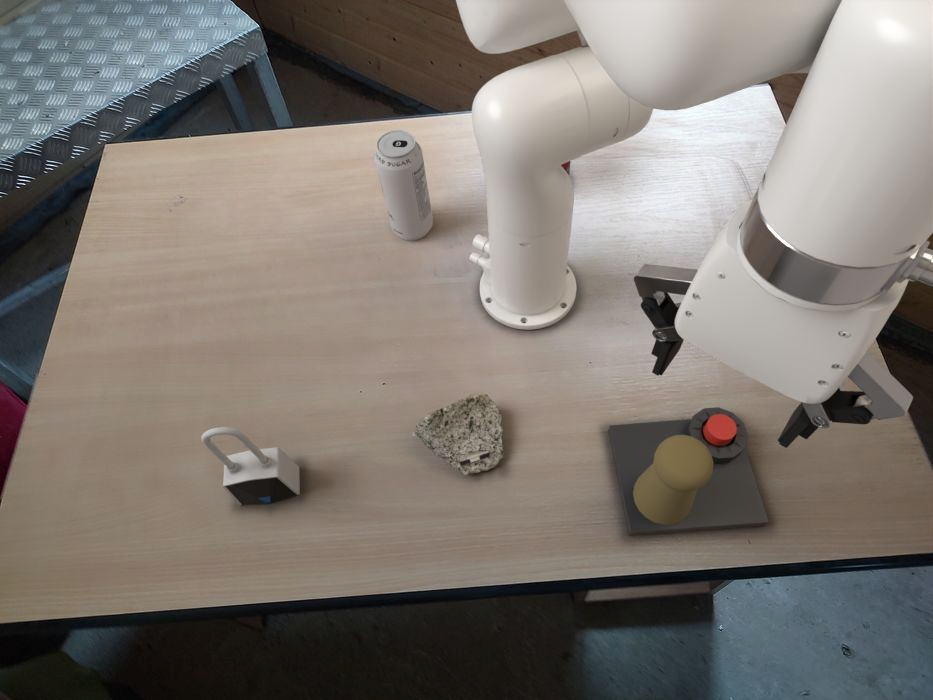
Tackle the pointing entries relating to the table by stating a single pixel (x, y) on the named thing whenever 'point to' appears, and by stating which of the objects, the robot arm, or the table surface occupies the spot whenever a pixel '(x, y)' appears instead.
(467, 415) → the rock sample
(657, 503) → the pawn game piece
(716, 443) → the tare button
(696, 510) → the grey flat block
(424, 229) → the energy drink can
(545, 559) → the table surface
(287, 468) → the padlock
